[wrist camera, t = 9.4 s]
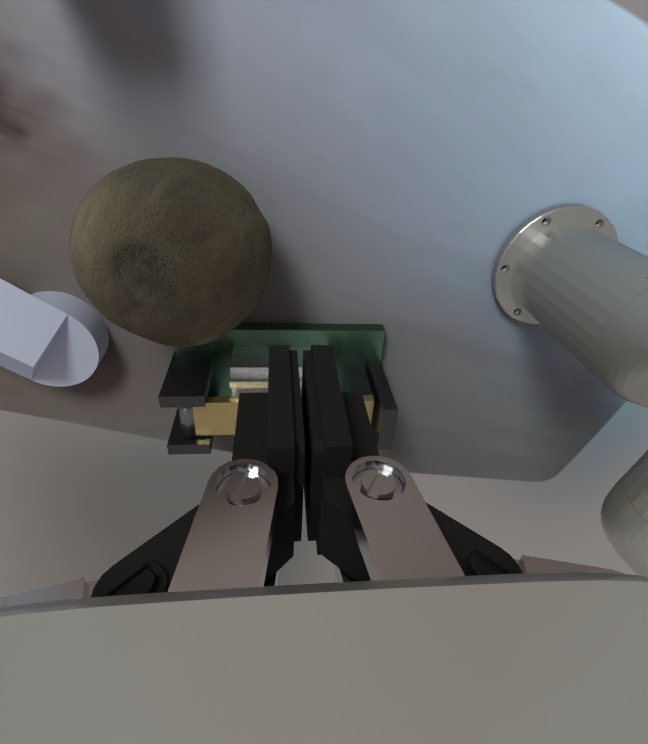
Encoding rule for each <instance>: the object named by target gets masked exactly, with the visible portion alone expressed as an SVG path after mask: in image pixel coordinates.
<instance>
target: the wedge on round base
mask: <svg viewBox="0 0 648 744" xmlns="http://www.w3.org/2000/svg"><path fill="white" fill-rule="evenodd" d="M108 344H109V335H108V330H107V327H106V325H105V323H104V321H103V319H102V318H101V316H100V315H99V314H98V313H97V312H96V311H95V310H94V309H93V308H92V307H91V306H90V305H88V304H87V303H86V302H84V301H82V300H81V299H79V298H77V297H75V296H72V295H69V294H66V293H62V292H56V291H43V292H38V293H34V294H32V295H30V294H28V293H26V292H25V291H23V290H21V289H19V288H17V287H15V286H13V285H11V284H9V283H8V282H6V281H4V280H2V279H0V366H2V367H4V368H6V369H8V370H10V371H13V372H15V373H17V374H19V375H21V376H24V377H26V378H28V379H30V380H33V381H35V382H37V383H41V384H44V385H49V386H57V387H65V386H72V385H76V384H79V383H81V382H83V381H85V380H86V379H88V378H89V377H90V376H91V375H92V374H93V373H94V371H95V370H96V368H97V366H98V365H99V363H100V361H101V360H102V358H103V356H104V355H105V353H106V351H107V348H108Z"/></svg>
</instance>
